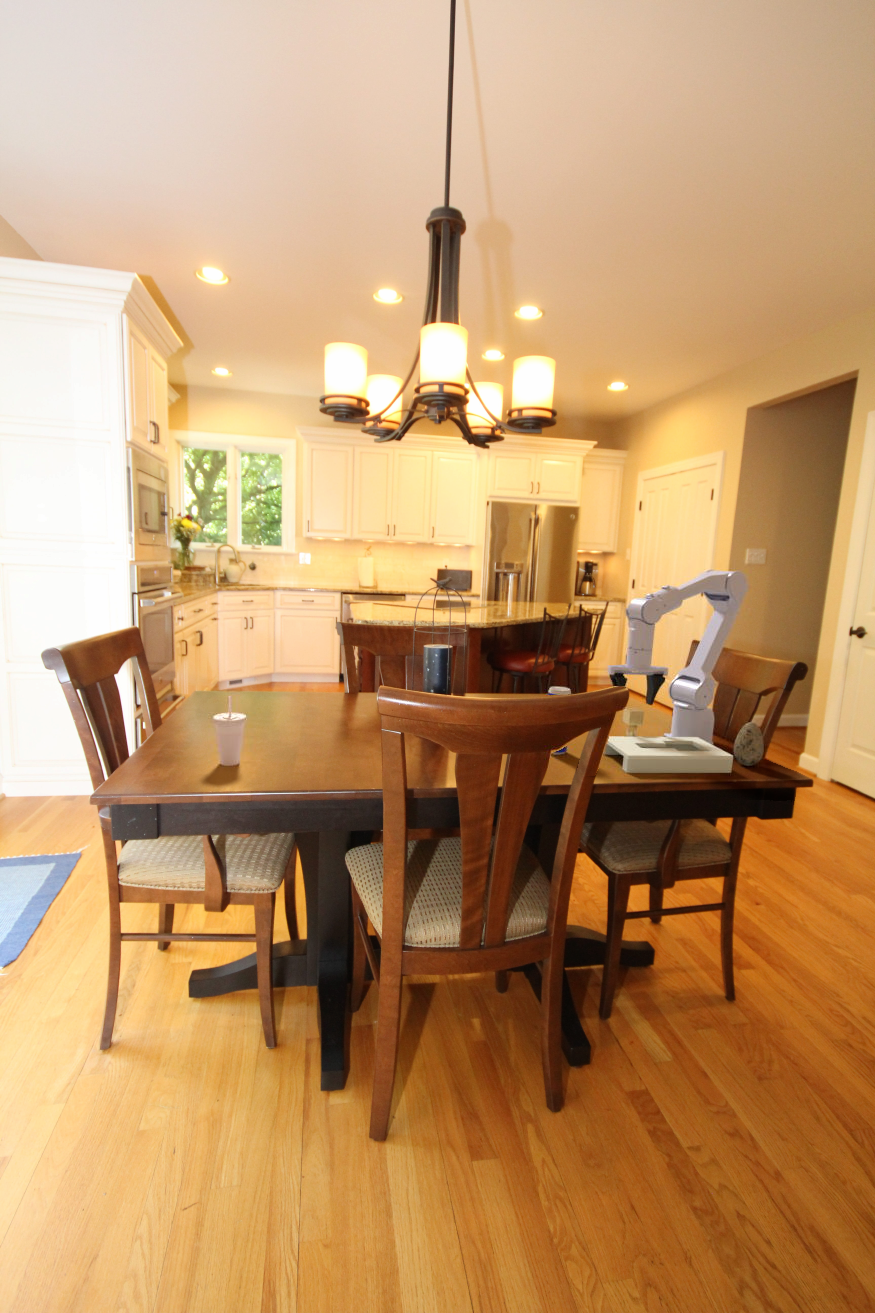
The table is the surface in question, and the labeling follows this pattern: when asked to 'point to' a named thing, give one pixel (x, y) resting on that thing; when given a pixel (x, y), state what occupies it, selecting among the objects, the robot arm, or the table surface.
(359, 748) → the table surface
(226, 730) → the smoothie
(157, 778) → the table surface
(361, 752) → the table surface
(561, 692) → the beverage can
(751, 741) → the decorative egg
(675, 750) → the keyhole plate
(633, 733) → the keyhole peg
